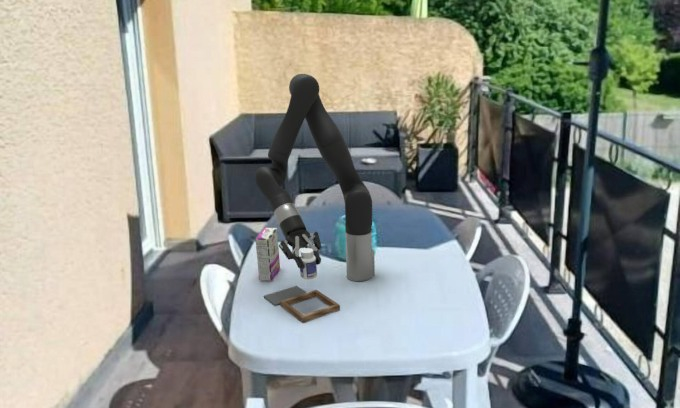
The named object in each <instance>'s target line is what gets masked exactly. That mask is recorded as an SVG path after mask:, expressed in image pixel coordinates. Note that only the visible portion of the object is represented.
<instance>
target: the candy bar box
mask: <svg viewBox="0 0 680 408" xmlns="http://www.w3.org/2000/svg"><path fill="white" fill-rule="evenodd" d="M278 237H279V236H278V228H277V227H264V228H263V229H262V230H261V232H259V234H258V236H256V238H255V248H256V258H257V268H258V269H257V271H258V280H261V282H272V281H273V280H274V278H275V277H276V276H277V274H278V273H279V271H280V270H281V266H280V265H281V263H280V251H279V249H280V247H279V238H278Z"/></svg>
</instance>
